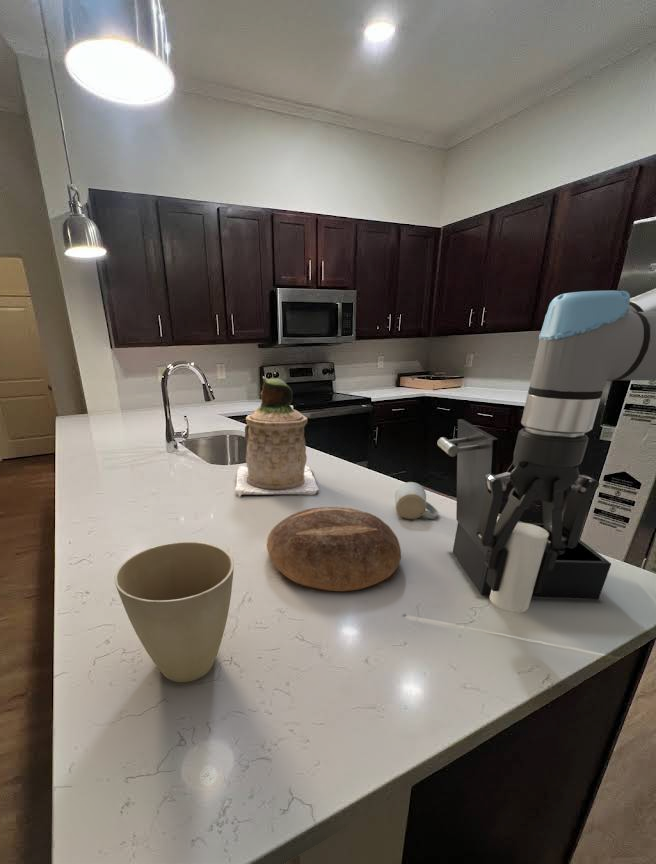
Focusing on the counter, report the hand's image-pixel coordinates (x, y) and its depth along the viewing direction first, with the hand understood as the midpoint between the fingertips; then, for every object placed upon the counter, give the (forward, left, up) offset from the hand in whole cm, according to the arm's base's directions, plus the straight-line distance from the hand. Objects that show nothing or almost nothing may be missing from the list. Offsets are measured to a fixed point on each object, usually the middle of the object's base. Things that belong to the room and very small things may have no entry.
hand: (512, 586), depth 62 cm
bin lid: (+5, -16, +10) cm, 20 cm away
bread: (+30, -14, -9) cm, 34 cm away
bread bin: (-5, -19, -9) cm, 21 cm away
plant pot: (+43, +22, -9) cm, 49 cm away
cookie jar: (+57, -55, -9) cm, 80 cm away
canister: (0, 0, -3) cm, 3 cm away
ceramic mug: (+15, -43, -9) cm, 46 cm away
